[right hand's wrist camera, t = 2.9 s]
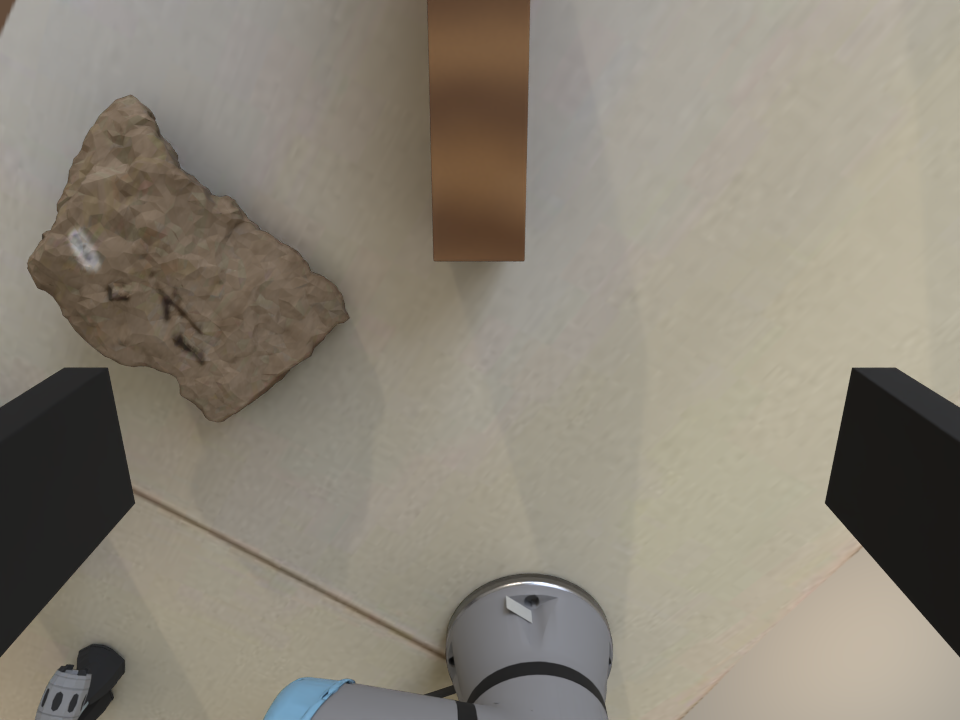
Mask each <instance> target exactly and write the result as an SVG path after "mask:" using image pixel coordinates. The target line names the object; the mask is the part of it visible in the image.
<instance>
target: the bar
mask: <svg viewBox="0 0 960 720" xmlns="http://www.w3.org/2000/svg"><path fill="white" fill-rule="evenodd" d="M427 9H428V51H429V92H430V133H431V175H432V216H433V258H434V261H524V259H525V214H526V168H527V123H528V77H529V31H530V0H427Z"/></svg>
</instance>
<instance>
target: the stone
mask: <svg viewBox="0 0 960 720" xmlns="http://www.w3.org/2000/svg"><path fill="white" fill-rule="evenodd" d="M57 212H58V214H57V217H56V221H55V223H54V225H53V226H52V228H51V230H50V231H46V232H45V233H43V234H42V240H41V241H40V242H39V244H38V246H37V248H36V249H35V251H34V252H33V254H32V255H31V256H30V257H29V260H28V263H27V264H28V268H27V269H28V271H29V273H30V274H31V276H32V278H33V280H34V282H35V284H36V286H37V288H38V289H41V290H44V291H46V292H47V293H49V294H50V295H51V296H53V297H54V299H55V300H56V302H57V303H58V305H59V306H60V308H61V311H62V314H63V316H64V317H66V318H67V319H68V320H69V322H70V323H71V325H72V327H73V328H74V329H75V331H76V332H77V333H78V334H79V335H80V336H81V337H82V338H83V339H84V340H85V341H87V342H88V343H89V344H90V345H91V346H92V347H94V348H95V349H96V350H97V351H98V352H100V353H101V354H102V355H104V356H105V357H108V358H110V359H112V360H114V361H116V362H117V363H119V364H122V365H125V366H131V367H137V366H147V367H151V368H154V369H156V370H158V371H161V372H165V373H169V374H171V375H173V376H175V377H176V378H177V380H178V382H179V384H180V394H181V396H182V397H184V398H186V399H188V400H189V401H191V402H192V403H194V404H195V405H196V406H197V407H198V408H199V409H200V410H201V411H202V412H203V414H204V416H205V417H206V418H207V419H208V420H210V421H215V422H222V421H225V420H226V419H227V418H228V417H230V416H231V415H233V414H236V413H238V412H239V411H240V410H242V409H243V408H244V407H245V406H247V405H249V404H250V403H252V402H253V401H254V400H256V399H257V398H259V397H260V396H261V395H262V394H264V393H265V392H267V391H268V390H269V389H270V388H271V387H272V386H273V385H274V384H275V383H276V382H278V381H280V380H282V379H283V377H284V376H285V375H286V374H287V373H288V372H289V371H290V369H291V368H292V367H294V366H295V365H297V364H298V363H300V362H301V361H303V360H305V359H306V358H308V357H310V356H311V355H312V352H313V350H314V348H315V347H316V346H317V345H318V344H319V343H320V342H321V341H322V340H324V338H325V336H326V335H327V334H328V333H329V332H330V331H331V330H332V329H333V328H334V327H335V326H336V325H337V324H340V323H344V322H345V321H347V320H348V319H349V315H348V313H347V311H346V309H345V303H344V300H343V296H342V294H341V293H340V292H339V290H338V289H337V287H336V286H335V285H334V284H333V283H332V282H330V281H329V280H327V279H326V278H325V277H324V276H321V275H319V274H316V273H314V272H311V270H310V267H309V265H308V263H307V262H306V261H305V260H304V259H303V258H302V256H301V255H300V254H299V252H297V251H296V250H294V249H293V248H291V247H290V246H288V245H286V244H283V243H281V242H280V241H278V240H277V239H276V238H275V237H273V236H272V235H270V234H268V233H267V232H265V231H261V230H260V228H259V227H258V225H256V224H255V223H253V222H252V221H250V220H249V219H248V218H247V216H246V214H245V213H244V212H243V211H242V210H241V208H240V207H239V206H238V204H237V203H236V201H235V200H233V199H232V198H231V197H229V196H223V197H218V196H215V195H212V194H211V192H210V191H209V189H208V188H206V187H205V186H203V185H202V184H200V183H199V182H198V181H197V179H196V178H195V177H194V176H192V175H189V174H187V173H186V172H185V171H183V170H182V169H180V165H179V162H178V155H177V153H176V152H175V151H174V149H173V148H172V146H171V145H170V144H169V143H168V142H167V141H166V140H165V139H164V138H163V137H162V135H161V134H160V130H159V128H158V126H157V123H156V121H155V117H154V115H153V113H152V112H151V111H150V110H149V108H147V107H146V106H145V105H143V104H142V103H141V102H140V101H139V100H138V99H137V98H135V97H134V96H132V95H128V96H126V97H123V98H120V99H117V100H115V101H114V102H113V103H112V104H111V105H110V106H109V107H108V108H107V109H106V110H105V111H104V112H103V113H102V114H101V115H100V116H99V117H98V119H97V121H96V122H95V124H94V125H93V126H92V127H91V129H90V130H89V132H88V134H87V136H86V137H85V139H84V142H83V145H82V149H81V151H80V152H79V154H78V155H77V156H76V157H75V158H74V160H73V165H72V167H71V168H70V170H69V176H68V183H67V185H66V187H65V188H64V191H63V194H62V196H61V198H60V200H59V201H58V203H57Z"/></svg>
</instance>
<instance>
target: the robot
mask: <svg viewBox="0 0 960 720" xmlns="http://www.w3.org/2000/svg"><path fill="white" fill-rule="evenodd" d="M73 667H74V665H68V664H67V665H66V666H61V667H60V668H59V669H58V670H57V671H56V673H55V674H54V676H53V677H52V679H51V680H50V681H49V683H48V685H47V687H46V689H45V692H44V694H43V696H42V699H41V701H40V704H39V707H38V709H37V714H36V717H35V720H96V719H97V718H98V717H99V716H100V715H101V714H102V713H103V712H104V711H105V709H106V707H107V706H108V705H109V704H110V702H111V701H112V700H113V698H114V697H113V694H112V692H111V689H112V688H113V687H114V686H115V684H116V683H117V681H118V680H119V679H120V677H121V676H122V675H123V674H124V672H125V664H124V659H122V658H121V657H120V656H119V655H118V654H117V653H116V652H115V651H114V650H112V649H111V648H109V647H106V646H104V645H95V644H92V645H90V646H88V647H86V648H84V649H82V650H80V651H79V655H78V658H77V670H74V669H73Z"/></svg>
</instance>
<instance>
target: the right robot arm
mask: <svg viewBox="0 0 960 720" xmlns="http://www.w3.org/2000/svg"><path fill="white" fill-rule="evenodd" d="M134 504H135V500H134V495H133V490H132V485H131V480H130V475H129V470H128V465H127V461H126V456H125V451H124V446H123V441H122V436H121V431H120V426H119V421H118V416H117V411H116V406H115V401H114V396H113V391H112V386H111V381H110V376H109V371H108V368H63V369H62V370H60V371H58V372H57V373H55V374H54V375H52V376H50V377H49V378H47V379H45V380H44V381H42V382H41V383H39V384H37V385H36V386H34V387H33V388H31V389H29V390H28V391H26V392H25V393H23V394H21V395H20V396H18V397H17V398H15V399H13V400H12V401H10V402H8V403H7V404H5V405H4V406H2V407H0V657H1V656H2V655H3V653H4V652H5V651H6V650H7V649H8V648H9V647H10V645H11V644H12V643H13V642H14V641H15V640H16V639H17V637H18V636H19V635H20V634H21V633H22V632H23V631H24V629H25V628H26V627H27V626H28V625H29V624H30V623H31V621H32V620H33V619H34V618H35V617H36V616H37V615H38V613H39V612H40V611H41V610H42V609H43V608H44V607H45V605H46V604H47V603H48V602H49V601H50V600H51V599H52V597H53V596H54V595H55V594H56V593H57V592H58V591H59V589H60V588H61V587H62V586H63V585H64V584H65V583H66V581H67V580H68V579H69V578H70V577H71V576H72V575H73V573H74V572H75V571H76V570H77V569H78V568H79V567H80V566H81V564H82V563H83V562H84V561H85V560H86V559H87V558H88V556H89V555H90V554H91V553H92V552H93V551H94V550H95V548H96V547H97V546H98V545H99V544H100V543H101V542H102V540H103V539H104V538H105V537H106V536H107V535H108V534H109V532H110V531H111V530H112V529H113V528H114V527H115V526H116V524H117V523H118V522H119V521H120V520H121V519H122V518H123V516H124V515H125V514H126V513H127V512H128V511H129V510H130V508H131V507H132V506H133V505H134ZM825 504H826V505H827V506H828V507H829V508H830V510H831V511H832V512H833V513H834V514H835V515H836V516H837V518H838V519H839V520H840V521H841V522H842V523H843V524H844V526H845V527H846V528H847V529H848V530H849V531H850V532H851V534H852V535H853V536H854V537H855V538H856V539H857V540H858V542H859V543H860V544H861V545H862V546H863V547H864V548H865V550H866V551H867V552H868V553H869V554H870V555H871V556H872V557H873V559H874V560H875V561H876V562H877V563H878V564H879V566H880V567H881V568H882V569H883V570H884V571H885V572H886V573H887V575H888V576H889V577H890V578H891V579H892V580H893V581H894V583H895V584H896V585H897V586H898V587H899V588H900V589H901V591H902V592H903V593H904V594H905V595H906V596H907V597H908V599H909V600H910V601H911V602H912V603H913V604H914V605H915V607H916V608H917V609H918V610H919V611H920V612H921V613H922V615H923V616H924V617H925V618H926V619H927V620H928V621H929V623H930V624H931V625H932V626H933V627H934V628H935V629H936V631H937V632H938V633H939V634H940V635H941V636H942V637H943V639H944V640H945V641H946V642H947V643H948V644H949V645H950V647H951V648H952V649H953V650H954V651H955V652H956V653H957V655H958V656H959V657H960V407H958V406H956V405H955V404H953V403H951V402H950V401H948V400H947V399H945V398H943V397H942V396H940V395H939V394H937V393H935V392H934V391H932V390H931V389H929V388H927V387H926V386H924V385H923V384H921V383H919V382H918V381H916V380H915V379H913V378H911V377H910V376H908V375H906V374H905V373H903V372H902V371H900V370H898V369H897V368H852V371H851V376H850V381H849V386H848V391H847V396H846V401H845V406H844V411H843V416H842V421H841V426H840V431H839V436H838V441H837V446H836V451H835V456H834V461H833V465H832V470H831V475H830V480H829V485H828V490H827V495H826V500H825ZM612 658H613V644H612V638H611V633H610V629H609V625H608V622H607V619H606V616H605V614H604V612H603V610H602V609H601V607H600V606H599V604H598V603H597V602H596V601H595V600H594V599H593V598H592V597H591V596H590V595H589V594H588V593H587V592H586V591H584V590H583V589H581V588H580V587H578V586H577V585H575V584H573V583H571V582H568V581H566V580H563V579H560V578H557V577H553V576H549V575H542V574H518V575H512V576H507V577H503V578H500V579H497V580H494V581H491V582H489V583H487V584H485V585H483V586H481V587H480V588H478V589H476V590H475V591H474V592H472V593H471V594H470V595H469V596H468V597H466V598H465V599H464V600H463V602H462V603H461V604H460V605H459V606H458V608H457V609H456V610H455V612H454V614H453V616H452V618H451V620H450V623H449V626H448V630H447V637H446V662H447V667H448V671H449V674H450V677H451V680H452V682H453V685H452V686H449V687H446V688H443V689H440V690H437V691H434V692H431V693H428V694H425V695H421V694H415V693H409V692H403V691H397V690H391V689H385V688H379V687H374V686H368V685H362V684H356V683H355V681H354V680H352V679H343V680H340V681H337V680H329V679H321V678H312V677H305V678H299V679H297V680H295V681H293V682H292V683H290V684H289V685H287V686H286V687H285V688H284V689H283V690H282V691H281V692H280V693H279V694H278V696H277V697H276V699H275V700H274V701H273V703H272V705H271V706H270V708H269V710H268V711H267V713H266V715H265V717H264V719H263V720H608V716H607V711H606V707H605V699H606V691H607V679H608V677H609V674H610V670H611V666H612ZM455 693H456V694H457V696H458V699H459V701H456V700H451V699H445V698H443V697H446V696H449V695H452V694H455Z"/></svg>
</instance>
